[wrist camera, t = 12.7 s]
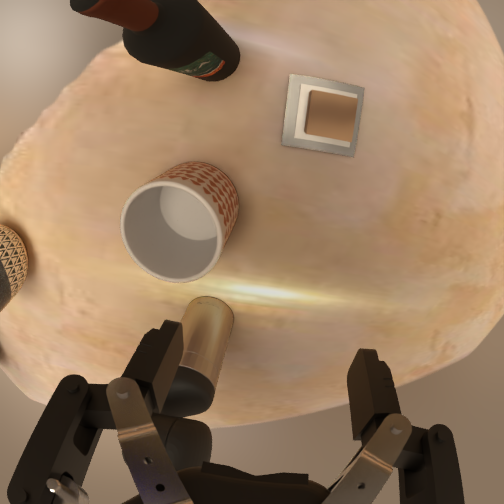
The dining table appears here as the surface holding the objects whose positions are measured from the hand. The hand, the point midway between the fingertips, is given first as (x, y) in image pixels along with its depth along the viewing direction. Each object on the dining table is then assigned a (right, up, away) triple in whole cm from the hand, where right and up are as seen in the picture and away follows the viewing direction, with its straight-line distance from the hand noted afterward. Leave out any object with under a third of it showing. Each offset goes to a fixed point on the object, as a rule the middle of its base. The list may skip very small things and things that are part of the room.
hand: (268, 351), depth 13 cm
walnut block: (+8, +21, +20) cm, 30 cm away
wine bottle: (-6, +32, +23) cm, 40 cm away
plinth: (+9, +24, +25) cm, 36 cm away
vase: (-9, +12, +34) cm, 37 cm away
